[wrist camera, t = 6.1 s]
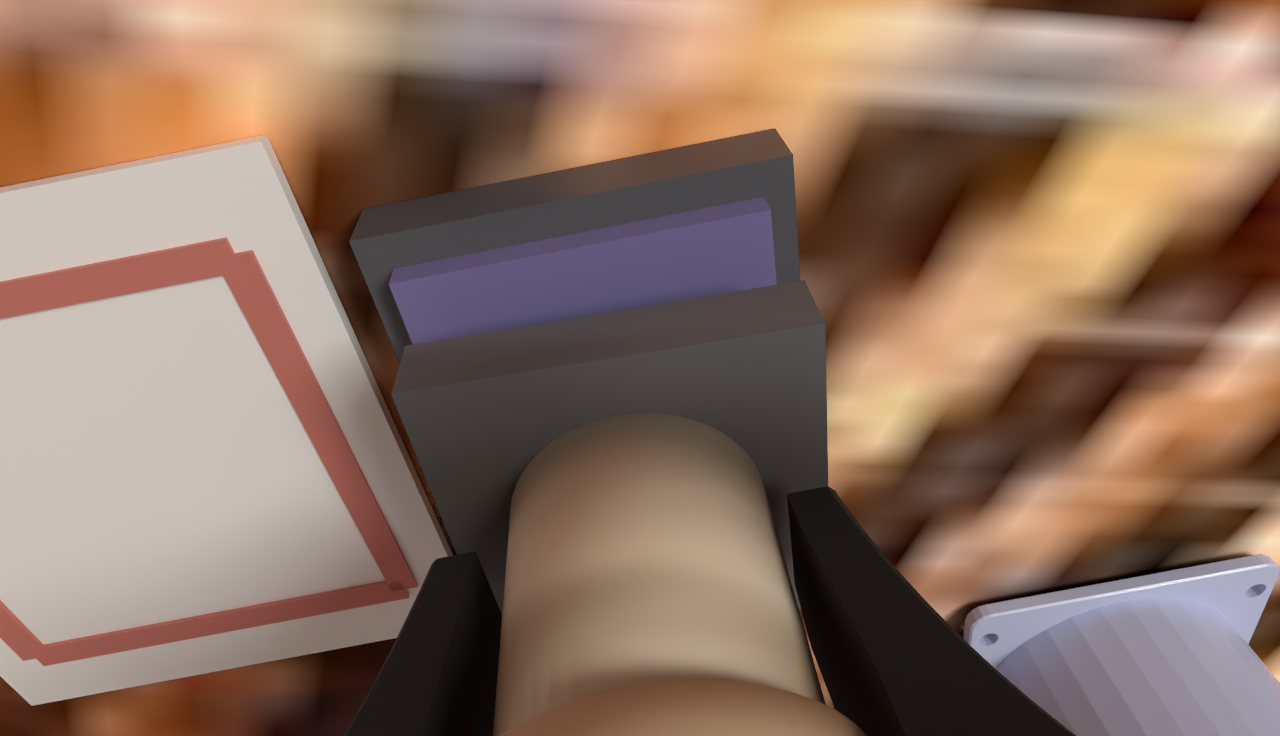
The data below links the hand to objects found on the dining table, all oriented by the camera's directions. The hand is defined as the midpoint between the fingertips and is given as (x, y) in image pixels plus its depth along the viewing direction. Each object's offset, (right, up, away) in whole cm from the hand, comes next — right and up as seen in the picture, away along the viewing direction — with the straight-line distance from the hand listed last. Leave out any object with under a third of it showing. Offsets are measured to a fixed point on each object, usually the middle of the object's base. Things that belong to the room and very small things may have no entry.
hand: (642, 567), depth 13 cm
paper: (-10, +1, +4) cm, 11 cm away
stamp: (0, +1, +1) cm, 2 cm away
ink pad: (0, +3, +4) cm, 5 cm away
